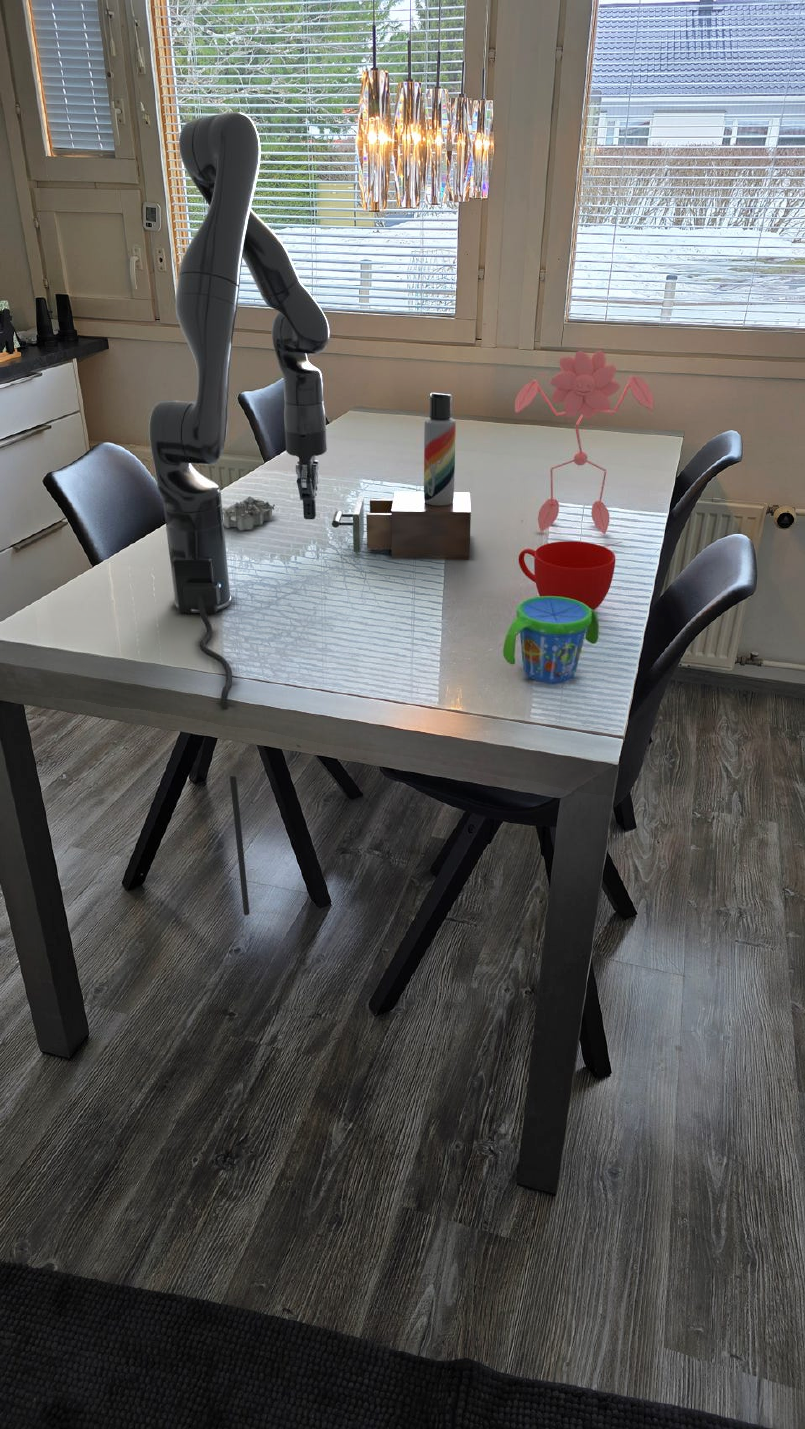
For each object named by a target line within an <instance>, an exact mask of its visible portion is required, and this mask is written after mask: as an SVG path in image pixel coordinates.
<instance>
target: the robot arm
mask: <svg viewBox="0 0 805 1429" xmlns="http://www.w3.org/2000/svg"><path fill="white" fill-rule="evenodd" d="M260 141H261V140H260V137H259V132H258V131H257V127H256V125H255V123H254V122H253V120H252V119H251V118H250V117H249V116H248V115H246V114H245V113H242V112H225V113H219V114H213V115H206V116H201V117H197V118H193V119H191V120H189V121H187V122H186V123H185V124H183V126H182V127H181V130H180V133H179V139H178V149H179V155H180V158H181V161H182V164H183V166H184V169H185V171H186V173H187V175H188V177H189V178H190V180H191V181H192V182H193V184H194V186H195V187H196V189H197V190H198V192H199V193H200V195H201V196H202V198H203V199H204V201H205V202H206V203H207V205H208V207H209V208H208V210H207V213H206V215H205V217H204V219H203V221H202V223H201V224H200V226H199V228H198V229H197V230H196V232H195V234H194V235H193V238H192V239H191V241H190V243H189V245H188V246H187V248H186V250H185V252H184V255H183V257H182V258H181V262H180V264H179V269H178V275H177V284H176V294H175V303H174V304H175V316H176V318H177V322H178V324H179V327H180V329H181V332H182V334H183V336H184V338H185V341H186V343H187V345H188V347H189V349H190V352H191V354H192V357H193V360H194V362H195V367H196V372H197V391H196V392H197V393H196V401H186V400H184V401H183V400H172V399H166V400H165V399H164V400H161V401H158V402H157V403H156V404H155V405H154V407H153V408H152V410H151V412H150V416H149V421H148V440H149V447H150V452H151V457H152V461H153V462H152V463H153V468H154V473H155V480H156V486H157V489H158V492H159V494H160V496H161V499H162V504H163V513H164V520H165V529H166V538H167V546H168V555H169V562H170V571H171V580H172V587H173V596H174V606H175V608H176V609H177V610H178V613H179V614H199V616H200V618H201V620H202V622H203V624H204V626H205V627H204V628H205V630H206V632H205V636H203V638H202V639H201V640H200V641H199V648H200V650H201V651H202V653H204V654H205V655H206V656H208V657H210V658H212V659H213V660H216V661H217V662H218V663H219V664H220V665H221V666H222V667H223V670H224V673H225V683H224V686H223V687H222V690H221V696H220V709H221V711H226V710H228V709H229V707H228V706H229V705H228V704H229V703H228V699H229V693H230V690H231V688H232V686H233V673H232V668H231V666H230V664H229V663H228V661H227V660H226V659H225V658H224V657H223V656H222V655H220V654H219V653H217V652H216V651H214V650H211V649H210V648H208V647H207V645H206V644H207V643H208V642H209V641H210V640H211V639H212V636H213V627H212V624H211V622H210V620H209V618H208V615H209V614H212V615H213V614H214V615H215V614H217V613H218V611H221V610H223V609H225V608H227V607H229V605H231V603H232V595H231V589H230V588H231V587H230V578H229V566H228V557H227V556H228V555H227V545H226V536H225V535H226V534H225V524H224V514H223V510H222V508H223V502H222V491H221V488H220V486H219V484H218V483H216V482H215V481H214V480H212V479H211V478H208V477H207V476H206V475H203V474H202V473H200V472H199V471H198V470H197V468H195V467H194V464H195V465H205V466H210V465H215V464H216V463H218V462H219V461H220V459H221V457H222V455H223V453H224V450H225V448H226V447H225V446H226V442H227V435H228V421H229V420H228V419H229V392H230V391H229V390H230V368H231V357H232V348H233V339H234V332H235V323H236V318H237V312H238V302H239V295H240V294H239V293H240V288H241V287H240V284H241V274H242V273H241V272H242V264H243V261H244V263H245V265H246V266H247V268H248V271H249V273H250V274H251V277H252V279H253V282H254V283H255V285H256V287H257V289H258V292H259V294H260V296H261V298H262V300H263V301H264V303H265V305H267V306H268V307H269V308H271V309H273V310H274V311H277V313H276V315H275V316H274V318H273V321H272V324H271V342H272V346H273V349H274V353H275V356H276V359H277V364H278V367H279V370H280V372H281V376H282V379H283V397H284V398H283V399H284V407H283V408H284V409H283V421H284V437H285V439H284V440H285V451H286V453H287V454H289V455H291V456H293V457H297V458H298V460H297V463H296V464H295V474H296V476H297V479H296V484H297V489H298V490H297V491H298V494H299V499H300V501H302V511H303V518H304V520H315V519H316V516H317V508H316V507H317V504H316V498H317V492H318V484H319V469H320V461H319V460H316V457H318V456H321V455H324V454H326V452H327V450H328V446H327V444H328V442H327V420H326V419H327V418H326V409H325V403H324V380H323V373H322V372H321V370H320V369H319V368H318V367H317V366H314V365H313V364H312V363H311V362H310V361H309V359H308V355H317V354H320V353H322V352H324V350H325V349H326V348H327V346H328V344H329V340H330V326H329V323H328V322H329V321H328V319H327V317H326V315H325V313H324V312H323V310H322V308H321V307H320V305H319V304H318V302H317V301H316V300H315V298H314V297H313V296H312V295H311V293H310V292H309V290H308V289H307V288H306V287H305V286H304V285H303V283H302V282H301V280H300V277H299V275H298V272H297V270H296V268H295V266H294V265H295V264H294V263H293V261H292V258H291V256H290V254H289V252H288V250H287V248H286V246H285V245H284V244H283V242H282V241H281V239H280V238H279V237H278V236H277V234H275V232H274V231H273V230H272V229H271V228H270V227H269V226H268V225H267V224H266V223H265V222H264V221H263V220H262V219H261V218H260V217H259V216H258V215H257V214H256V213H255V212H254V211H253V209H252V203H253V200H254V194H255V190H256V186H257V181H258V176H259V171H260V164H261V143H260ZM207 614H208V615H207ZM237 782H238V781H237V776H233V775H230V776H229V783H230V792H231V802H232V811H233V822H234V830H235V831H234V832H235V842H236V851H237V852H236V853H237V861H238V871H239V872H238V873H239V881H240V891H241V901H242V909H243V915H244V916H250V914H251V913H250V904H249V894H248V893H249V892H248V882H247V874H246V873H247V872H246V864H245V863H246V862H245V852H244V843H243V833H242V832H243V831H242V822H241V812H240V802H239V801H240V800H239V791H238V783H237Z"/></svg>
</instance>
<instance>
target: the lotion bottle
mask: <svg viewBox="0 0 805 1429" xmlns="http://www.w3.org/2000/svg"><path fill="white" fill-rule="evenodd" d="M456 426H457V422H456V419H454V418H453V417H452V394H446V393H439V392H431V393H430V394H429V417H428V418H425V420H424V429H423V430H424V431H423V432H424V434H423V438H424V440H423V492H424V502H425V503H427V504H429V505H435V506H444V505H449V504H451V503H453V501H454V493H455V476H456V475H455V472H456V436H457V435H456V434H457V432H456V430H457V427H456Z"/></svg>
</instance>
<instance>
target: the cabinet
mask: <svg viewBox="0 0 805 1429" xmlns="http://www.w3.org/2000/svg"><path fill="white" fill-rule="evenodd" d="M392 499H393V504H392V510H391V542H392V550H391V559H431V560H432V559H435V560H438V559H442V560H447V559H448V560H470V555H471V554H470V552H471V522H472V520H471V519H472V517H471V516H472V506H471V493H470V492H454V501H453V503H451V504H449V505H444V506H435V505H429V504H427V503H425V502H424V491H394V493H393V497H392Z"/></svg>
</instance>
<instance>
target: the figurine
mask: <svg viewBox="0 0 805 1429" xmlns="http://www.w3.org/2000/svg"><path fill="white" fill-rule="evenodd" d="M558 363H559V367H560V369H561V371H560V372H559V373H556V374H555V375H554V376H552V377H551V379H550V385H551V386H552V387H555V389H554V390H553V393H552V395H551V401H552V402H553V403H554V404H561V403H563V411H561V412H557V410H556V408H555V407H554V406H553V404H552V403H551V401H550V400H549V399H548V397H547V395H546V394H545V392H544V391H543V389H542V387H541V386H540V385H539V383H538V380H537V379H533V380H532V381H530V382H527V384H525V385H524V386H523V387H522V388H521V389H520V390H519V391H518V393H517V395H516V398H515V401H514V411H515V414H516V415H517V414H518V413H521V412H522V411H523V410H525V409H526V408H527V407H529V406H530V404H532V402H533V401H534V400H535V398H536V396H537V393H538V392H539V394H541V396H542V398H543V399H544V401H545V402H546V404H547V405H548V407H549V408H550V409H551V411H552V412H553V414H554V415H555V417H560V416H563V415H565V416H566V417H567V418H573V417H575V416H576V415H577V413H578V412H579V413H580V416H579V418H578V419H577V421H576V423H575V426H574V429H575V435H576V439H577V445H578V450H579V451H576V452H575V453H574V455H573V459H571V460H569V461H566V462H563V463H561V464H558V465H555V466H552V467H550V498H549V499H547V500H546V501H545V502H544V503H542V505H541V506H540V509H539V511H538V516H537V522H538V528H539V530H540V533H542V532H544V531H545V530H547V529H549V527H551V526H553V524H554V523H555V521H556V520H557V518H558V516H559V512H560V503H559V502H558V500H557V498H554V485H553V484H554V483H553V480H554V479H553V477H554V476H553V470H554V469H557V468H559V467H562V466H566V465H569V464H571V463H575V465H577V466H583V465H585V464H586V463H587V464H589V465H591V466H594V467H596V468H598V469H599V470H602V471H603V472H604V473H603V477H602V483H601V487H600V488H601V489H600V495H599V499H598V500H596V501H594V502H593V504H592V505H591V512H590V513H591V519H592V521H593V523H594V528H598V529H599V531H600V532H602V533H603V534H604V535H605V534H606V533H607V531H608V528H609V524H610V513H609V509H608V508H607V506H606V505H605V503H604V502H602V499H603V493H604V487H605V481H606V476H607V469H605V468H603V467H601V466H600V465H597V464H596V463H593V462H592V461H589V459H588V455H587V453H586V452H585V451H583V450H582V444H581V437H580V431H579V426H580V424H581V422H582V420H583V419H584V418H586V419H589V420H591V419H592V418H594V417H595V414H596V413H603V414H611V415H616V413H617V412H618V410H619V409H620V406H621V405H622V402H623V400H624V398H625V397H626V394H627V392H628V390H630V393H631V394H632V397H633V399H634V400H636V402H637V403H638V404H640V405H641V406H643V407H644V408H646V409H648V410H650V411H653V410H654V405H655V404H654V403H655V402H654V400H655V399H654V395H653V394H654V393H653V392H652V389H651V388H650V386H649V384H647V382H646V381H644V380H643V379H642V378H641V377H637V376H635V375H634V374H631V375H630V376H629V380H628V382H627V384H626V386H625V388H624V390H623V392H622V394H621V396H620V398H619V400H618V402H617V404H616V406H615V408H614V410H610V409H611V406H612V404H611V400H610V398H609V397H611V396H613V395H615V394H616V393H617V392H619V389H620V388H621V387H620V383H619V382H618V381H615V380H614V378H615V375H616V370H617V369H616V368H617V367H616V366H615V365H614V364H611V365H607V357H606V355H605V353H604V352H603V350H596V351H595V352H594V353H593V354H592V355H591V356H590V355H589V354H588V353H586V352H585V351H583V350H578V351H576V352H575V356H574V357H572V356H563V357H560V359H559V361H558ZM523 521H524V519H522V520H521V521H520V523H522V522H523ZM548 543H549V542H547V543H546V544H548ZM621 543H622V541H620V542H616V543H612V544H606V545H604V547H605V548H608V547H610V546H614V545H618V544H621Z"/></svg>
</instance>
